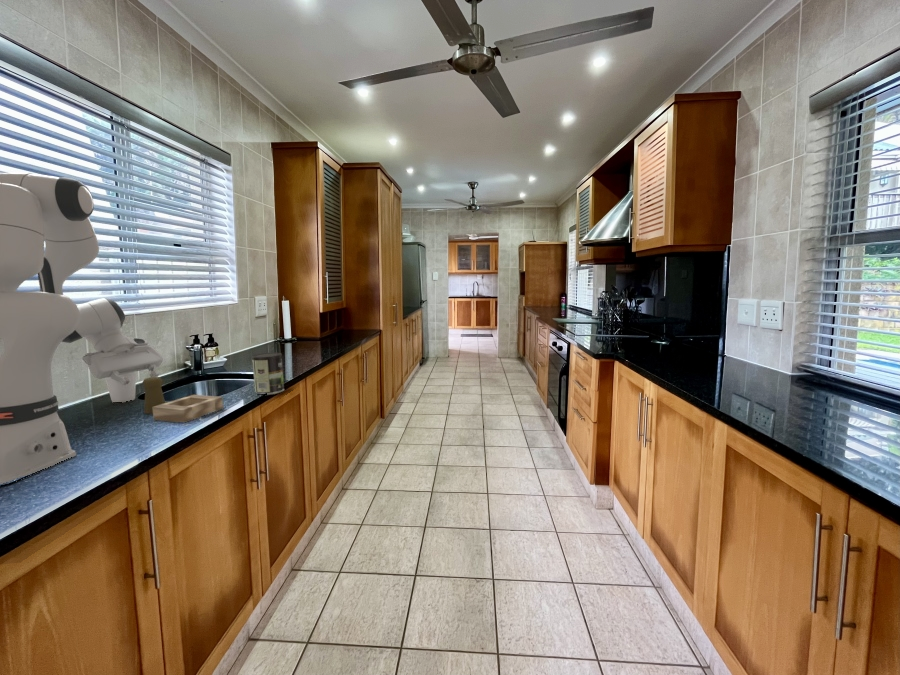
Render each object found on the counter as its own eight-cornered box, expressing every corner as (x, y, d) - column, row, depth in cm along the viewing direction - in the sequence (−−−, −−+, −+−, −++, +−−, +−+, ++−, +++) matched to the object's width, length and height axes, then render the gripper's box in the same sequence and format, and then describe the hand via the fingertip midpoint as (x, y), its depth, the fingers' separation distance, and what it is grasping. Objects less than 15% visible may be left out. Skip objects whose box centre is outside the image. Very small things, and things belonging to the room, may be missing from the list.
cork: (155, 414, 128) (151, 380, 126) (139, 413, 129) (135, 379, 127) (171, 408, 134) (168, 375, 132) (156, 407, 135) (152, 375, 133)
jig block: (184, 423, 119) (182, 409, 118) (153, 419, 122) (152, 406, 122) (223, 408, 132) (222, 396, 131) (195, 406, 136) (193, 394, 135)
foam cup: (139, 395, 151) (135, 360, 149) (141, 400, 144) (136, 364, 142) (106, 400, 145) (101, 364, 143) (106, 405, 138) (101, 368, 136)
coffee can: (284, 387, 160) (282, 351, 158) (284, 393, 150) (281, 355, 148) (255, 389, 156) (252, 353, 154) (253, 396, 146) (250, 358, 144)
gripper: (83, 347, 122) (110, 381, 121) (150, 338, 141) (175, 367, 140) (75, 361, 124) (102, 394, 122) (142, 350, 143) (166, 379, 142)
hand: (141, 380), depth 131 cm, fingers open, 8 cm apart
